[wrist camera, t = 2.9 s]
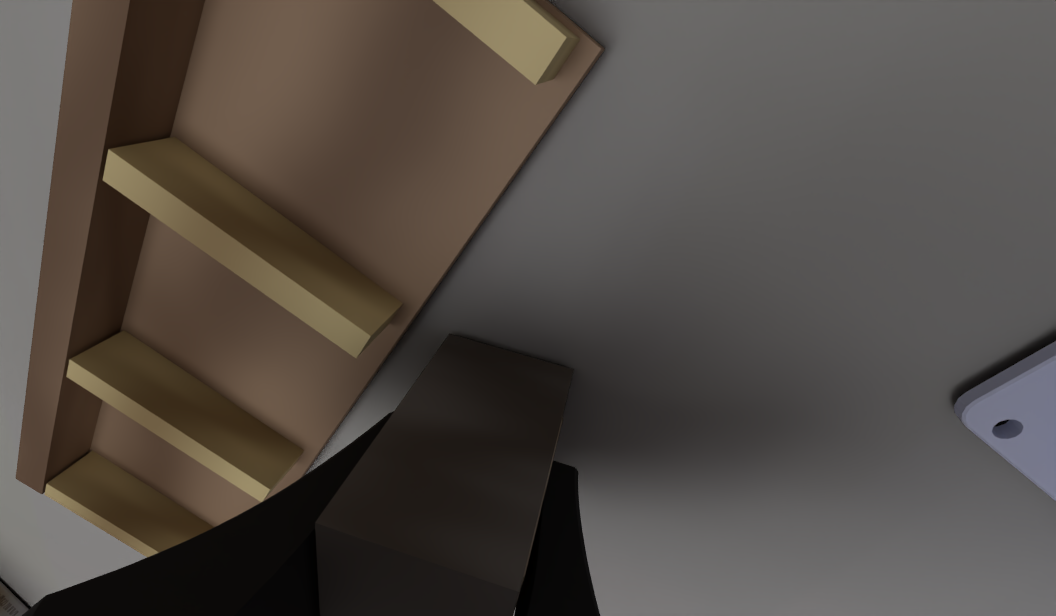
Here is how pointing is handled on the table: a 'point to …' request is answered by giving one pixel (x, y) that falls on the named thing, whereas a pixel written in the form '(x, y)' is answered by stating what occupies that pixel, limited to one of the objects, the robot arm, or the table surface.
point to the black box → (446, 491)
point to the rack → (258, 231)
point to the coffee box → (10, 603)
